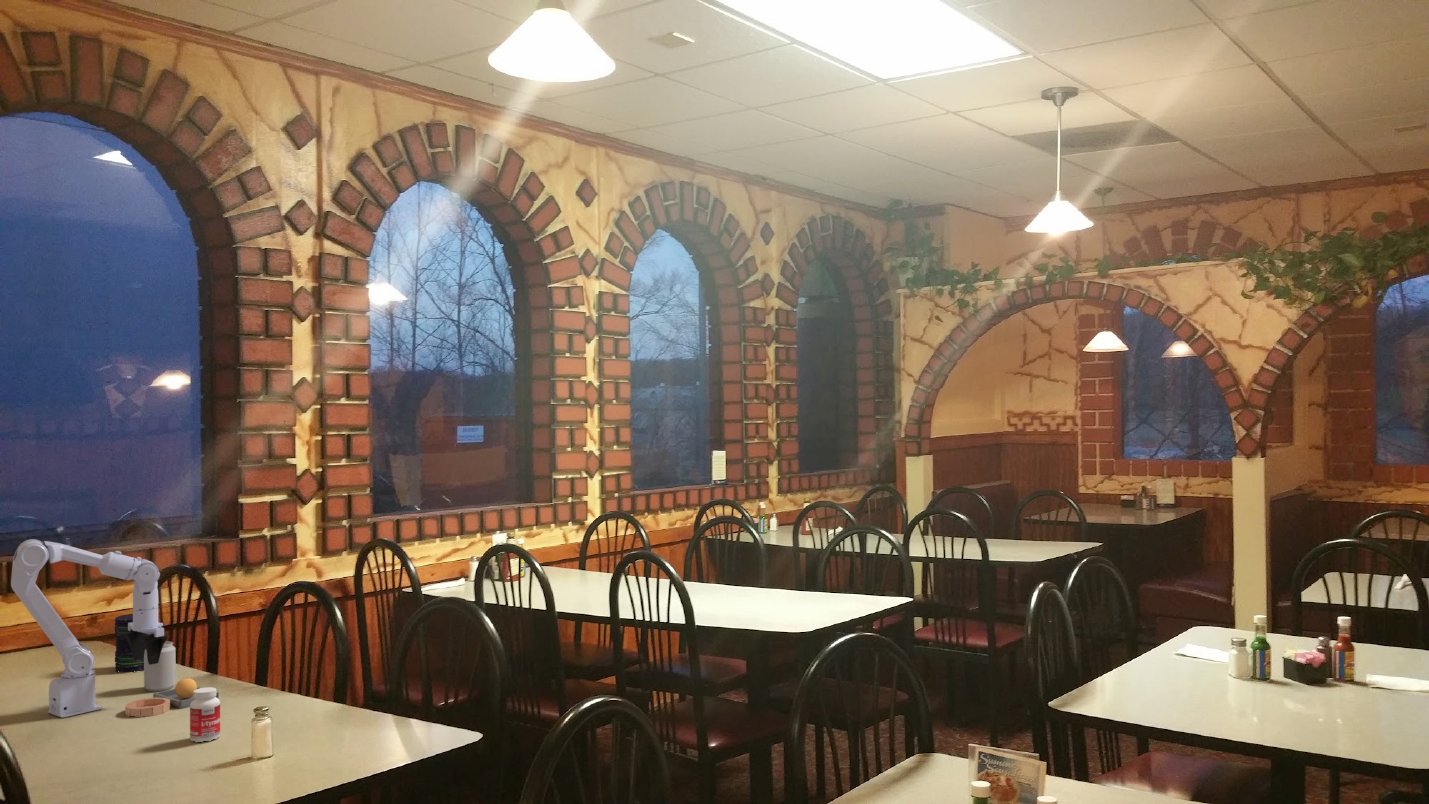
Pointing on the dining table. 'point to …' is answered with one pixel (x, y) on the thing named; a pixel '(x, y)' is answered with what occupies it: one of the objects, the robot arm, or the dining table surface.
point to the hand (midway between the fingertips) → (146, 661)
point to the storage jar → (125, 647)
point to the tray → (177, 698)
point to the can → (161, 670)
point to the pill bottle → (204, 715)
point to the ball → (185, 688)
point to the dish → (147, 707)
